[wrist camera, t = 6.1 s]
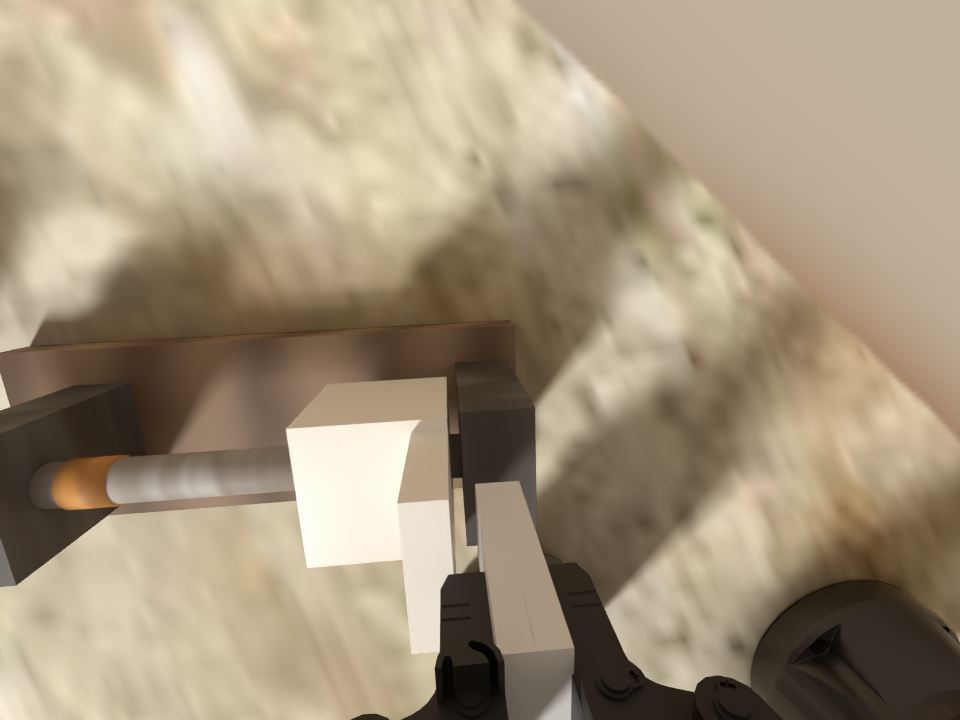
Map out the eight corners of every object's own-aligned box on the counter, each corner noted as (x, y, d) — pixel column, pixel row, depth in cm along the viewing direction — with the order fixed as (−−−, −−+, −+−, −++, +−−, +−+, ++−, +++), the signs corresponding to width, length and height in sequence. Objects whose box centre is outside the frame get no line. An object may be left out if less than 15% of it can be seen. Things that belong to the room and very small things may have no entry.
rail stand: (508, 320, 27) (547, 357, 17) (513, 468, 30) (548, 579, 19) (28, 346, 26) (-248, 405, 15) (72, 501, 28) (-143, 643, 18)
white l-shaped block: (446, 376, 23) (447, 482, 12) (453, 483, 24) (459, 663, 13) (327, 384, 22) (218, 500, 12) (341, 491, 24) (255, 684, 13)
